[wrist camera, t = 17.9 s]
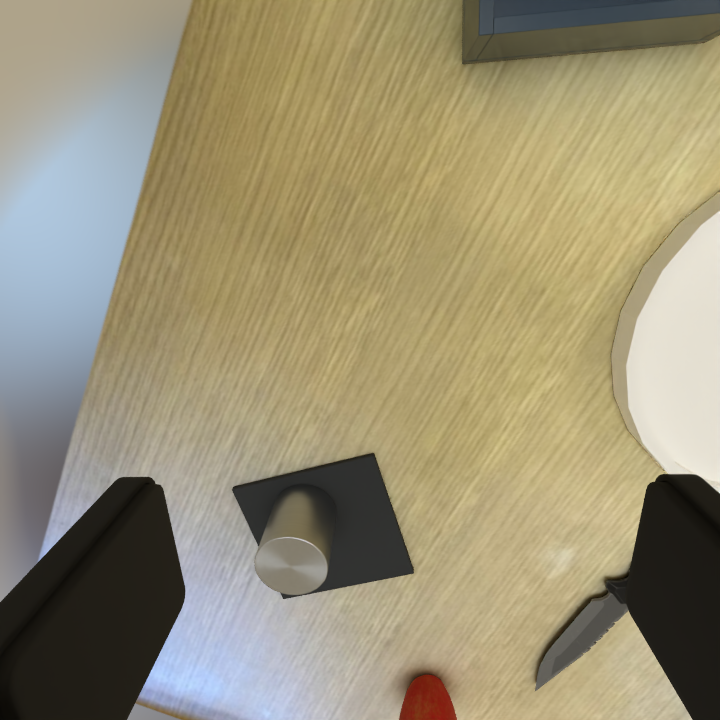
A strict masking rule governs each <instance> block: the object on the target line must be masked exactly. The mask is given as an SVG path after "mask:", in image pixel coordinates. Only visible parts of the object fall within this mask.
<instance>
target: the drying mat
mask: <svg viewBox="0 0 720 720" xmlns="http://www.w3.org/2000/svg"><path fill="white" fill-rule="evenodd" d="M299 484H307V485H312V486H316V487H318V488H320V489H322V490H323V491H325V492H326V493H327V494H328V495H329V496H330V497H331V498H332V500H333V501H334V503H335V506H336V511H337V515H336V521H335V528H334V534H333V541H332V547H331V554H330V560H329V567H328V573H327V576H326V579H325V581H324V582H323V583H322V584H321V585H320V586H319V587H318V588H317V589H315V590H314V591H312V592H309V593H306V594H301V595H288V594H283V593H281V595H282V597H283V599H286V598H291V597H296V596H302V595H307V594H312V593H317V592H322V591H327V590H332V589H337V588H342V587H347V586H352V585H357V584H362V583H367V582H373V581H378V580H383V579H388V578H393V577H398V576H403V575H408V574H413V573H414V570H413V567H412V564H411V561H410V558H409V555H408V552H407V549H406V546H405V543H404V540H403V537H402V535H401V532H400V529H399V526H398V523H397V520H396V517H395V514H394V511H393V508H392V505H391V502H390V499H389V496H388V493H387V490H386V488H385V485H384V482H383V479H382V476H381V473H380V470H379V467H378V464H377V461H376V458H375V455H374V453H372V454H368V455H363V456H359V457H355V458H351V459H347V460H343V461H338V462H334V463H330V464H326V465H322V466H318V467H314V468H309V469H305V470H301V471H297V472H293V473H289V474H285V475H280V476H276V477H272V478H268V479H264V480H260V481H256V482H251V483H247V484H243V485H239V486H235V487H233V489H232V491H233V493H234V495H235V497H236V499H237V501H238V503H239V506H240V508H241V510H242V512H243V514H244V516H245V518H246V521H247V523H248V525H249V527H250V529H251V531H252V533H253V535H254V538H255V540H256V542H257V544H258V546H259V544H260V542H261V539H262V536H263V533H264V531H265V528H266V525H267V522H268V520H269V517H270V514H271V511H272V509H273V506H274V503H275V501H276V498H277V497H278V495H279V494H280V493H281V492H282V491H283V490H285V489H286V488H288V487H291V486H294V485H299Z"/></svg>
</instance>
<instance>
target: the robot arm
mask: <svg viewBox="0 0 720 720" xmlns="http://www.w3.org/2000/svg"><path fill="white" fill-rule="evenodd" d="M184 599H185V585H184V580H183V576H182V572H181V567H180V563H179V558H178V554H177V549H176V545H175V540H174V536H173V531H172V527H171V522H170V518H169V513H168V509H167V504H166V500H165V495H164V491H163V488H162V487H161V485H158V484H155V481H154V480H153V479H152V478H150V477H122V478H119V479H117V480H116V481H115V482H114V483H113V484H112V485H111V486H110V487H109V488H108V489H107V490H106V491H105V492H104V493H103V495H102V496H101V497H100V498H99V499H98V500H97V501H96V502H95V503H94V504H93V505H92V506H91V507H90V508H89V509H88V510H87V511H86V512H85V513H84V515H83V516H82V517H81V518H80V519H79V520H78V521H77V522H76V523H75V524H74V525H73V526H72V527H71V528H70V529H69V530H68V531H67V532H66V534H65V535H64V536H63V537H62V538H61V539H60V540H59V541H58V542H57V543H56V544H55V545H54V546H53V547H52V548H51V549H50V550H49V551H48V553H47V554H46V555H45V556H44V557H43V558H42V559H41V560H40V561H39V562H38V563H37V564H36V565H35V566H34V567H33V568H32V569H31V570H30V572H29V573H28V574H27V575H26V576H25V577H24V578H23V579H22V580H21V581H20V582H19V583H18V584H17V585H16V586H15V587H14V588H13V589H12V591H11V592H10V593H9V594H8V595H7V596H6V597H5V598H4V599H3V600H2V601H1V602H0V720H127V718H128V716H129V714H130V712H131V710H132V708H133V706H134V704H135V702H136V700H137V698H138V696H139V694H140V692H141V690H142V688H143V686H144V684H145V682H146V680H147V678H148V676H149V674H150V672H151V670H152V668H153V666H154V664H155V662H156V660H157V658H158V656H159V653H160V651H161V649H162V647H163V645H164V643H165V641H166V639H167V637H168V635H169V633H170V631H171V629H172V627H173V625H174V623H175V621H176V619H177V617H178V615H179V613H180V611H181V609H182V606H183V603H184ZM625 599H626V604H627V607H628V610H629V612H630V614H631V616H632V618H633V620H634V621H635V623H636V625H637V626H638V628H639V630H640V631H641V633H642V635H643V636H644V638H645V640H646V642H647V643H648V645H649V647H650V648H651V650H652V652H653V653H654V655H655V657H656V658H657V660H658V662H659V664H660V665H661V667H662V669H663V670H664V672H665V674H666V675H667V677H668V679H669V680H670V682H671V684H672V685H673V687H674V689H675V691H676V692H677V694H678V696H679V697H680V699H681V701H682V702H683V704H684V706H685V707H686V709H687V711H688V713H689V714H690V716H691V718H692V719H693V720H720V493H719V492H718V491H717V490H715V489H714V488H713V487H712V486H711V485H710V484H709V483H707V482H706V481H705V480H704V479H703V478H701V477H700V476H698V475H695V474H662V475H659V476H658V477H657V479H656V481H655V482H652V483H650V484H649V485H648V486H647V489H646V494H645V498H644V503H643V508H642V513H641V518H640V523H639V528H638V532H637V537H636V542H635V547H634V552H633V557H632V561H631V566H630V571H629V576H628V581H627V586H626V591H625Z"/></svg>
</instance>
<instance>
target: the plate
mask: <svg viewBox="0 0 720 720" xmlns="http://www.w3.org/2000/svg"><path fill="white" fill-rule="evenodd" d="M611 363H612V377H613V392H614V397H615V400H616V402H617V404H618V407H619V409H620V412H621V414H622V417H623V419H624V422H625V424H626V427H627V429H628V431H629V432H630V433H631V434H632V435H633V436H634V438H635V439H636V440H637V441H638V442H639V443H640V444H641V446H642V447H643V448H644V449H645V450H646V451H647V453H648V454H649V455H650V456H651V457H652V458H653V459H654V460H655V461H656V462H657V463H658V464H659V465H660V466H661V467H662V468H663V469H664V470H665V471H666V472H667V473H669V474H695V475H698V476H700V477H701V478H703V479H704V480H705V481H706V482H707V483H709V484H710V485H711V486H712V487H713V488H714V489H715V490H717V491H718V492H719V493H720V191H719V192H718V193H717V194H715V195H714V196H713V197H712V198H710V199H709V200H708V201H707V202H705V203H704V204H703V205H701V206H700V207H699V208H698V209H696V210H695V211H694V212H693V213H691V214H690V215H689V216H688V217H686V218H685V219H684V220H683V221H681V222H680V223H679V224H678V225H677V226H676V228H675V229H674V230H673V231H672V232H671V234H670V235H669V236H668V237H667V238H666V240H665V241H664V242H663V243H662V244H661V246H660V247H659V248H658V249H657V250H656V252H655V253H654V254H653V255H652V256H651V258H650V259H649V260H648V261H647V262H646V264H645V265H644V266H643V268H642V270H641V272H640V274H639V276H638V278H637V280H636V282H635V284H634V286H633V288H632V290H631V292H630V294H629V296H628V298H627V300H626V302H625V304H624V306H623V308H622V310H621V312H620V317H619V321H618V326H617V330H616V335H615V339H614V344H613V348H612V353H611Z"/></svg>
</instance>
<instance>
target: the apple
mask: <svg viewBox="0 0 720 720" xmlns="http://www.w3.org/2000/svg"><path fill="white" fill-rule="evenodd" d="M399 720H457V718H456V714H455V710H454V707H453V704H452V701H451V699H450V696H449V694H448V692H447V690H446V688H445V686H444V684H443V683H442V681H441V680H440V679H439V678H437V677H436V676H433V675H422V676H419V677H417V678H415V679H414V680H413V681H412V683H411V684H410V686H409V688H408V690H407V692H406V695H405V698H404V701H403V705H402V709H401V713H400V718H399Z"/></svg>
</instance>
